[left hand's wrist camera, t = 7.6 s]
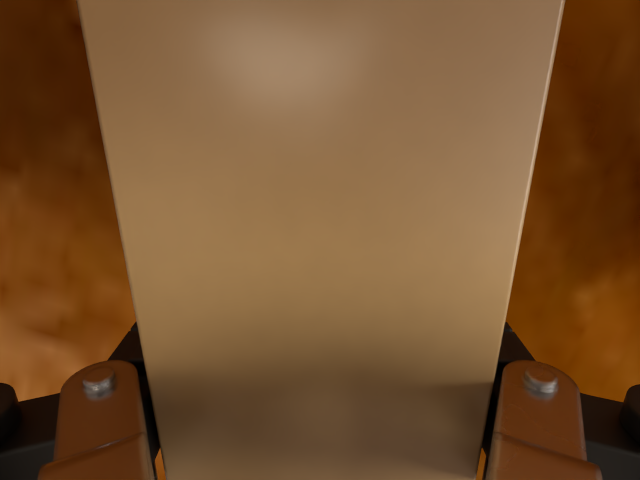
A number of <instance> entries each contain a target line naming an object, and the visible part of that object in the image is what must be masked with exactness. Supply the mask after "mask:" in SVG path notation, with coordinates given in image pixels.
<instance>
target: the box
mask: <svg viewBox="0 0 640 480" xmlns="http://www.w3.org/2000/svg"><path fill="white" fill-rule="evenodd" d="M76 1H77V7H78V12H79V17H80V23H81V28H82V33H83V38H84V44H85V49H86V54H87V60H88V65H89V70H90V76H91V81H92V86H93V92H94V97H95V102H96V108H97V113H98V118H99V124H100V129H101V134H102V140H103V145H104V150H105V156H106V161H107V166H108V171H109V177H110V182H111V187H112V193H113V198H114V203H115V209H116V214H117V219H118V225H119V230H120V235H121V241H122V246H123V251H124V257H125V262H126V267H127V273H128V278H129V283H130V289H131V294H132V299H133V305H134V310H135V315H136V320H137V326H138V331H139V336H140V342H141V347H142V352H143V358H144V363H145V368H146V374H147V379H148V384H149V390H150V395H151V400H152V406H153V411H154V416H155V422H156V427H157V432H158V438H159V443H160V448H161V454H162V459H163V464H164V469H165V475H166V480H476V474H477V469H478V464H479V458H480V453H481V448H482V442H483V437H484V432H485V426H486V421H487V416H488V410H489V405H490V400H491V394H492V389H493V384H494V378H495V373H496V368H497V362H498V357H499V351H500V346H501V341H502V335H503V330H504V325H505V319H506V314H507V309H508V303H509V298H510V293H511V287H512V282H513V277H514V271H515V266H516V261H517V255H518V250H519V245H520V239H521V234H522V229H523V223H524V218H525V213H526V207H527V202H528V197H529V191H530V186H531V180H532V175H533V170H534V164H535V159H536V154H537V148H538V143H539V138H540V132H541V127H542V122H543V116H544V111H545V106H546V100H547V95H548V90H549V84H550V79H551V74H552V68H553V63H554V58H555V52H556V47H557V42H558V36H559V31H560V25H561V20H562V15H563V9H564V4H565V0H76Z"/></svg>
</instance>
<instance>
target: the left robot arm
mask: <svg viewBox="0 0 640 480" xmlns="http://www.w3.org/2000/svg"><path fill="white" fill-rule="evenodd" d="M482 448H483V449H484V452H485V454H486V460H485V465H484V470H483V476H482V480H640V384H639V385H635V386H632V387H631V388H629V389H628V391H627V393H626V396H625V399H624V402H618V401H614V400H609V399H604V398H600V397H595V396H590V395H586V394H582V393H580V392H579V388H578V386H577V385H576V383H575V382H574V381H573V380H572V379H571V378H570V377H569V376H568V375H566V374H565V373H564V372H562V371H560V370H559V369H557V368H555V367H553V366H550V365H548V364H545V363H541V362H537V361H535V359H534V358H533V357H532V355H531V354H530V353H529V351H528V350H527V349H526V347H525V346H524V345H523V343H522V342H521V341H520V339H519V338H518V337H517V335H516V334H515V333H514V332H512V329H511V327H510V326H509V325H508V323H507V322H505V325H504V330H503V335H502V341H501V346H500V351H499V357H498V362H497V368H496V373H495V378H494V384H493V389H492V394H491V400H490V405H489V410H488V416H487V421H486V426H485V432H484V437H483V442H482ZM159 449H160V443H159V438H158V432H157V427H156V422H155V416H154V411H153V406H152V400H151V395H150V390H149V384H148V379H147V374H146V368H145V363H144V358H143V352H142V347H141V342H140V336H139V331H138V326H137V321H136V322H135V324H134V325H133V326H132V328H131V331H129V332H128V333H127V335H126V336H125V337H124V339H123V340H122V341H121V343H120V344H119V345H118V347H117V348H116V349H115V351H114V352H113V353H112V355H111V356H110V358H109V359H108V360H107V361H103V362H99V363H95V364H92V365H90V366H87V367H85V368H83V369H81V370H80V371H78V372H76V373H75V374H74V375H72V376H71V377H70V378H69V379H68V380H67V381H66V382H65V383H64V385H63V386H62V388H61V392H60V393H57V394H53V395H49V396H44V397H39V398H35V399H30V400H25V401H21V402H18V399H17V396H16V393H15V390H14V389H13V387H11V386H10V385H8V384H5V383H0V480H158V476H157V470H156V465H155V458H156V456H157V454H158V451H159Z"/></svg>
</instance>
